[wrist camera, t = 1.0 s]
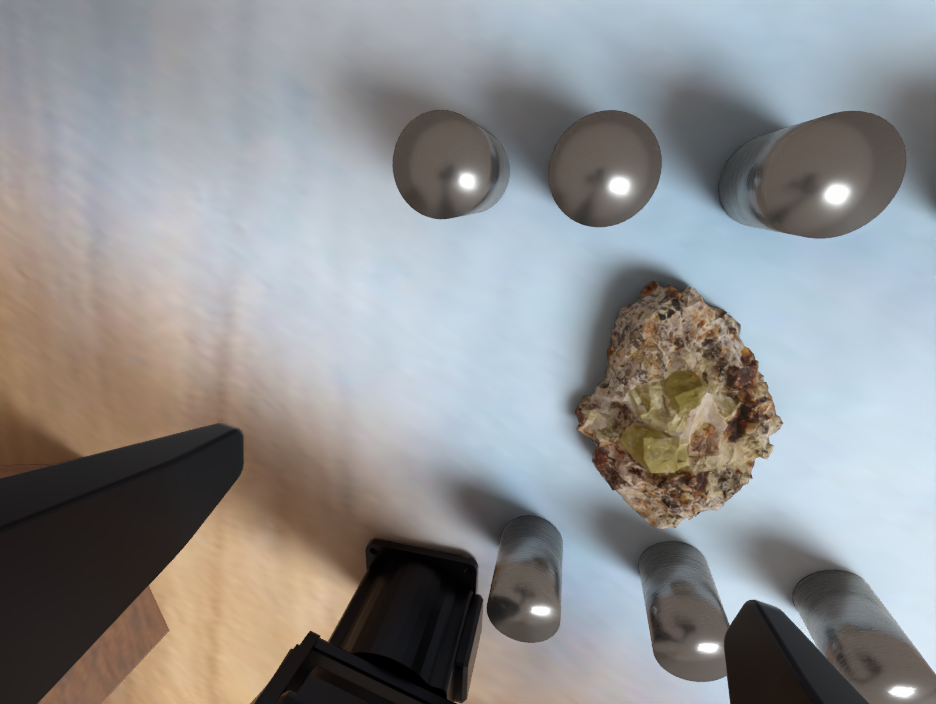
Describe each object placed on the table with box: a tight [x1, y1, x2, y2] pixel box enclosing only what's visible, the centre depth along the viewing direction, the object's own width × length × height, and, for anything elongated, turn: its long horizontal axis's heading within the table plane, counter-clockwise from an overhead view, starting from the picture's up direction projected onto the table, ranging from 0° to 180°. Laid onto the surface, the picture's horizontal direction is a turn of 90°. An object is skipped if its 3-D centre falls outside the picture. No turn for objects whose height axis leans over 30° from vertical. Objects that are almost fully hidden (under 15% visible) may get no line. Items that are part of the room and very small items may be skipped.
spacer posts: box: [393, 110, 936, 704], centre depth 18 cm, size 21×21×4 cm
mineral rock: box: [575, 281, 783, 529], centre depth 19 cm, size 11×4×8 cm
